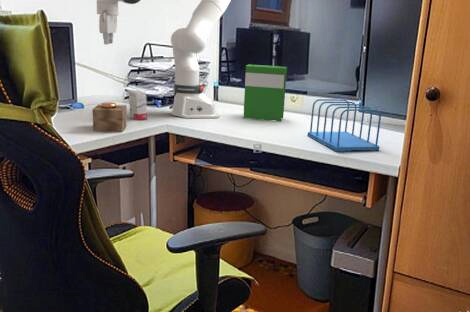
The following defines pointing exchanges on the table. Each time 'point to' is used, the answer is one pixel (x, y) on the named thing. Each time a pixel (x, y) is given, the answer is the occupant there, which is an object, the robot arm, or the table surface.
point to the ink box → (137, 105)
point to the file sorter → (345, 139)
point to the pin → (108, 105)
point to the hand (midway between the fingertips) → (108, 43)
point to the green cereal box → (264, 92)
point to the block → (109, 118)
